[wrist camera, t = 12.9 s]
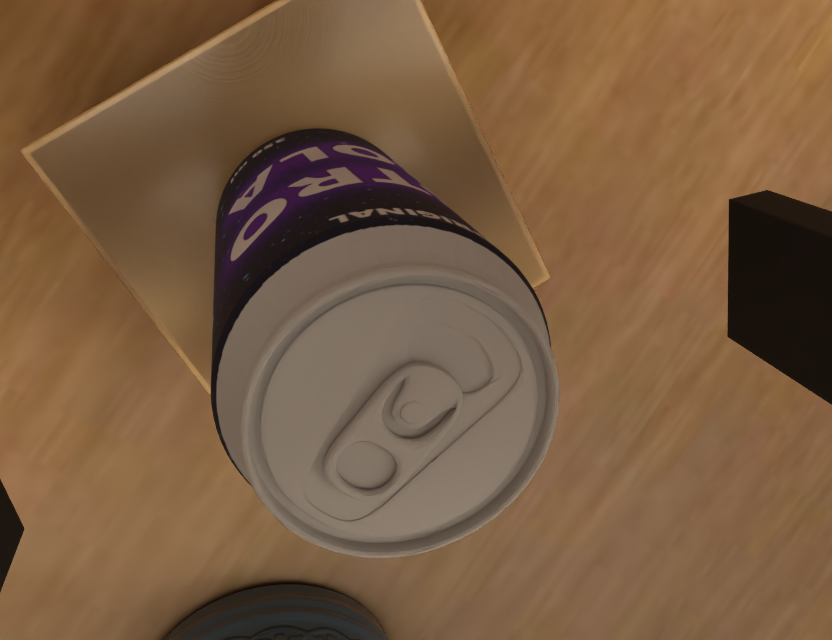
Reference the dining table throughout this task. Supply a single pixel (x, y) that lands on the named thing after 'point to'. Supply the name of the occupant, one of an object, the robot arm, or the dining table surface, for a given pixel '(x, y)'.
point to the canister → (281, 617)
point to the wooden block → (257, 124)
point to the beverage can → (371, 352)
